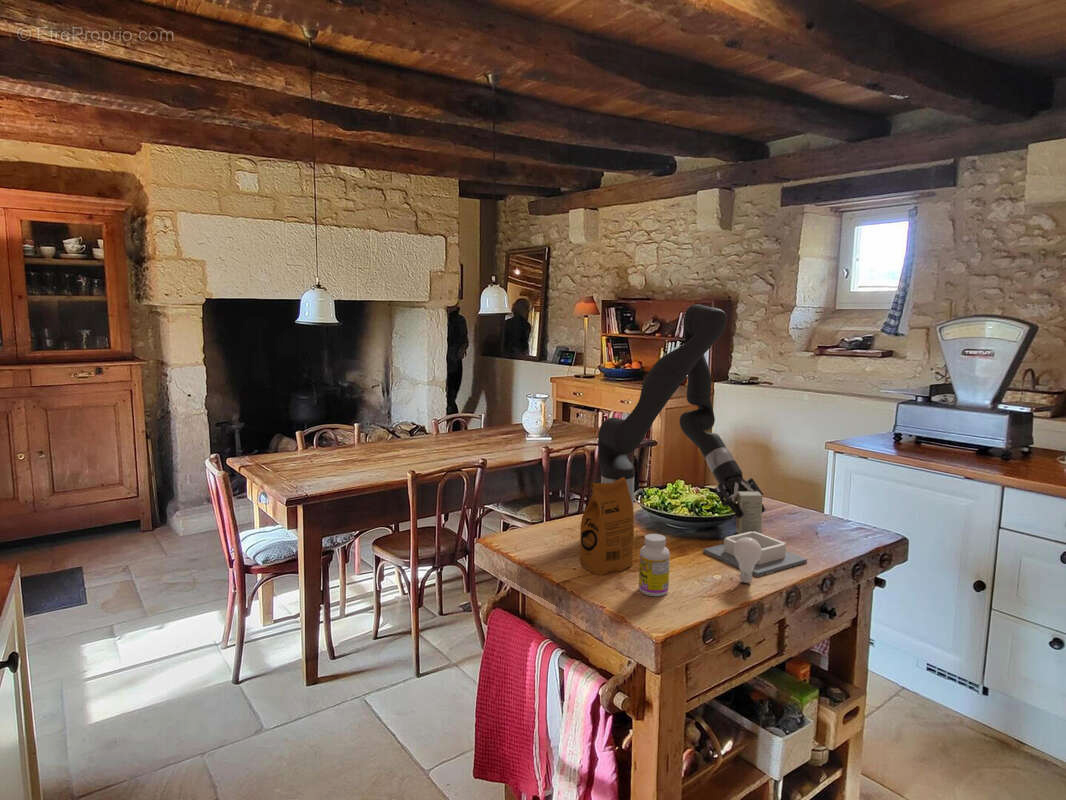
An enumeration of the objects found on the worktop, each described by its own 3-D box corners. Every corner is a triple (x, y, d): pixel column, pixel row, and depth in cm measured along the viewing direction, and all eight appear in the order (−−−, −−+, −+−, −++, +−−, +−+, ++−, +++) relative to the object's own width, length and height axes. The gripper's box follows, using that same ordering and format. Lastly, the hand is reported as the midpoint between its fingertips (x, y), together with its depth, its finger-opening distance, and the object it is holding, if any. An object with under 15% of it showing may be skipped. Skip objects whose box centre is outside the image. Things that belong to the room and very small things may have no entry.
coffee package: (573, 564, 165) (575, 479, 161) (613, 555, 171) (615, 472, 168) (597, 578, 156) (599, 489, 153) (638, 568, 163) (640, 481, 159)
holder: (757, 576, 158) (758, 559, 157) (703, 552, 173) (704, 536, 172) (806, 562, 166) (808, 545, 166) (751, 540, 182) (752, 525, 181)
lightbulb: (745, 590, 150) (748, 544, 148) (725, 580, 156) (728, 535, 154) (765, 585, 153) (768, 540, 151) (745, 575, 158) (748, 531, 157)
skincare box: (757, 532, 189) (760, 491, 187) (761, 537, 184) (763, 495, 183) (734, 531, 189) (736, 490, 187) (737, 536, 185) (740, 494, 183)
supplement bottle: (635, 585, 152) (637, 532, 151) (663, 584, 153) (665, 531, 151) (642, 598, 146) (644, 542, 144) (672, 597, 146) (674, 542, 145)
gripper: (712, 462, 187) (741, 511, 179) (748, 456, 194) (777, 504, 186) (698, 476, 192) (726, 524, 184) (733, 470, 199) (761, 516, 191)
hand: (752, 514), depth 185 cm, fingers open, 8 cm apart
